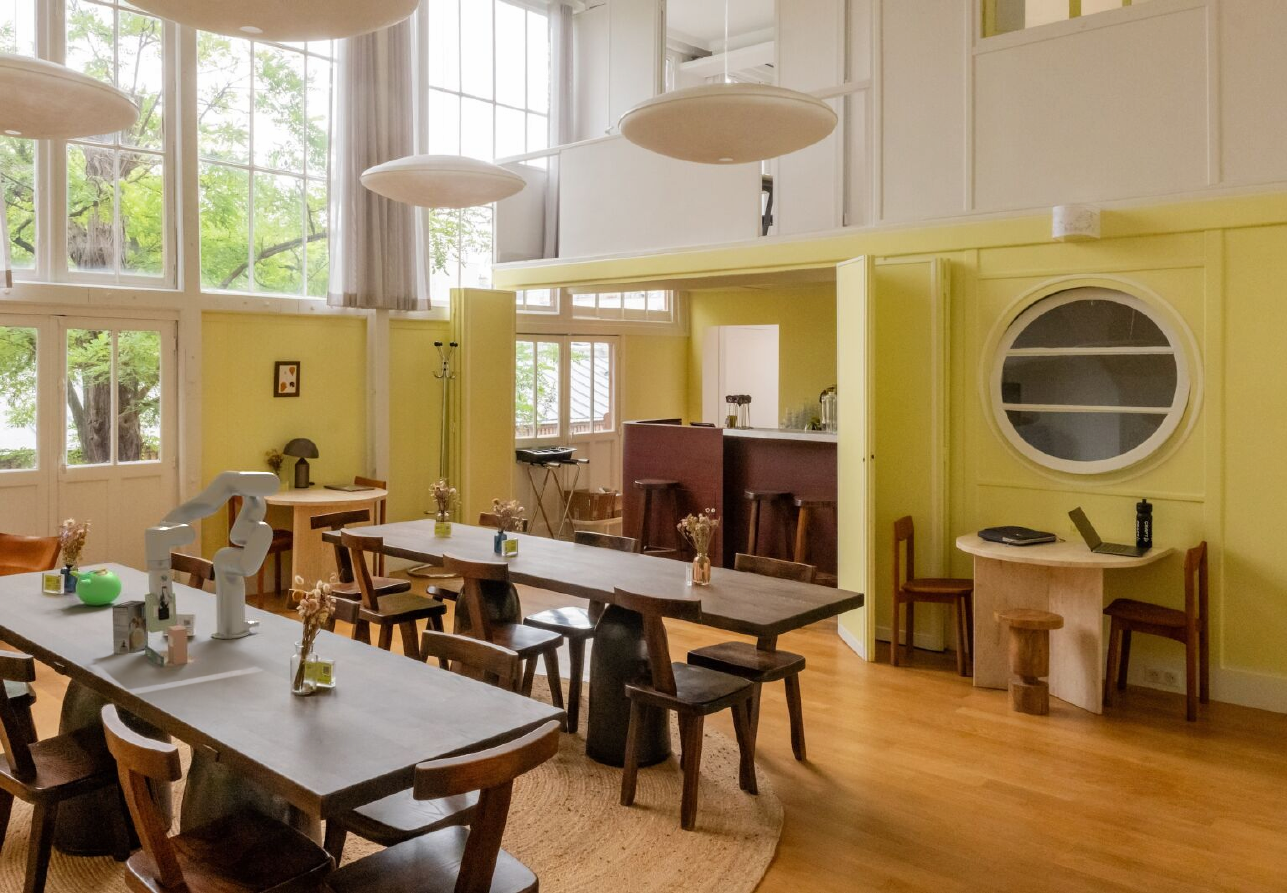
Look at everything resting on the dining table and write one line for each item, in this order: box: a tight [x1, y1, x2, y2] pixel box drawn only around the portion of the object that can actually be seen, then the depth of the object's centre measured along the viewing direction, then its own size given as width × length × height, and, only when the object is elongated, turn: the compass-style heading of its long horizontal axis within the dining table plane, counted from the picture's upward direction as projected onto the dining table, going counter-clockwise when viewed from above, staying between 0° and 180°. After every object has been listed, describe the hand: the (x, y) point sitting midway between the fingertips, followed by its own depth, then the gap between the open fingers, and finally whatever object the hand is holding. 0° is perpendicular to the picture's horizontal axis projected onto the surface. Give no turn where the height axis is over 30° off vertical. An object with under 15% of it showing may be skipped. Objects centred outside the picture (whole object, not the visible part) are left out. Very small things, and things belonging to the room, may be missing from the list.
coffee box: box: [112, 600, 149, 655], centre depth 330 cm, size 9×6×16 cm
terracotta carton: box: [167, 624, 189, 666], centre depth 313 cm, size 4×6×11 cm
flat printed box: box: [144, 645, 200, 668], centre depth 318 cm, size 11×18×4 cm, turn 42°
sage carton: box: [144, 591, 178, 634], centre depth 327 cm, size 8×5×12 cm, turn 132°
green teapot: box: [69, 567, 122, 606], centre depth 395 cm, size 18×17×15 cm
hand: (161, 617), depth 328 cm, fingers closed on sage carton, 5 cm apart
